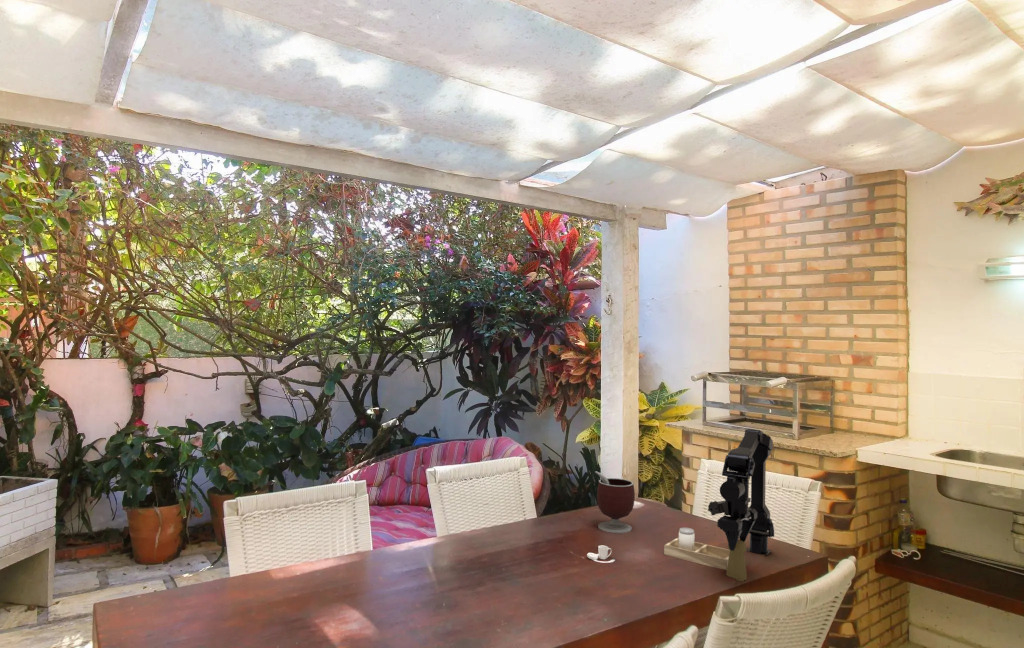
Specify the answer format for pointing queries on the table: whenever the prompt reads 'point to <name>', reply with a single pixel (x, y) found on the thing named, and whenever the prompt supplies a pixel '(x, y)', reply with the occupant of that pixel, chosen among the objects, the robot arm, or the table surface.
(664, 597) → the table surface
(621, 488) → the mate gourd
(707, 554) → the caddy
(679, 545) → the salt shaker
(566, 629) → the table surface
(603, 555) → the teacup and saucer
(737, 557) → the olive tapered block
